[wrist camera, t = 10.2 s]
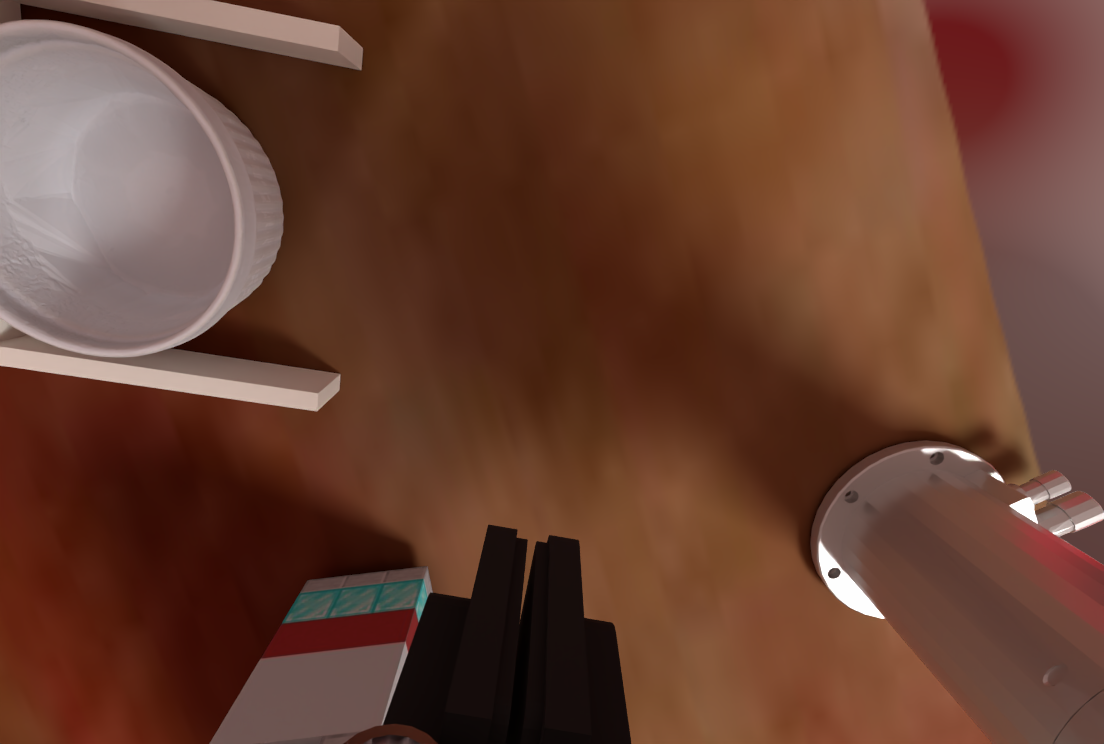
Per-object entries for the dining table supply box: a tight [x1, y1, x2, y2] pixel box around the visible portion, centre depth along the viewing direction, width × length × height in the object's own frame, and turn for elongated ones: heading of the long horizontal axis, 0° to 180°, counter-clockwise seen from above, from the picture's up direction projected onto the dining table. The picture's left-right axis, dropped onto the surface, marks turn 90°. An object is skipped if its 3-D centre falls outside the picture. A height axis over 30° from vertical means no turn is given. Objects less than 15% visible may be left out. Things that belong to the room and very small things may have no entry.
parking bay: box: [0, 0, 363, 411], centre depth 27 cm, size 17×18×4 cm
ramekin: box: [0, 20, 284, 357], centre depth 26 cm, size 13×13×7 cm
